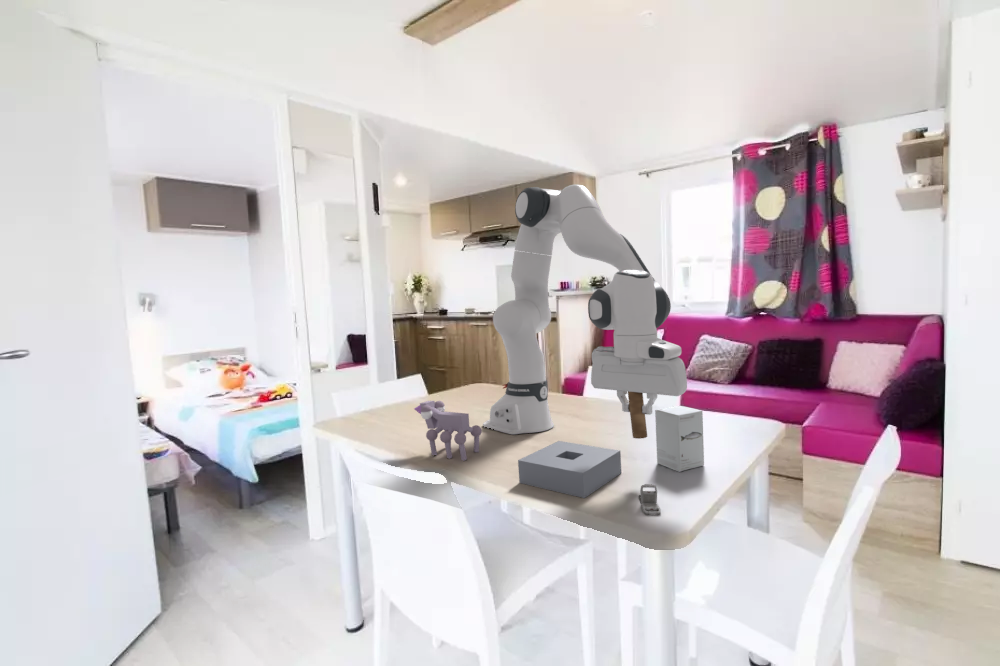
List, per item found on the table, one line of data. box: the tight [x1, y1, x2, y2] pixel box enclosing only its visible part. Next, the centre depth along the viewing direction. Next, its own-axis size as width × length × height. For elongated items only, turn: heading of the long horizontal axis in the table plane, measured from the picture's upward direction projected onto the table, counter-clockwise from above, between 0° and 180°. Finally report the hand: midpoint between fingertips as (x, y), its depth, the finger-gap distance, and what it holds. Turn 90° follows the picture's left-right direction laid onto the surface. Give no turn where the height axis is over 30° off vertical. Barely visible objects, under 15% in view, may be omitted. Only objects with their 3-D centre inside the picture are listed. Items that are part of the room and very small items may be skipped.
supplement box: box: [654, 405, 705, 473], centre depth 112 cm, size 7×7×13 cm
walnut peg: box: [627, 391, 648, 440], centre depth 106 cm, size 3×3×10 cm
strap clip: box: [638, 483, 662, 516], centre depth 93 cm, size 8×3×4 cm, turn 172°
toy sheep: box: [413, 400, 483, 462], centre depth 133 cm, size 20×11×14 cm, turn 57°
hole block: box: [517, 440, 622, 499], centre depth 109 cm, size 16×16×5 cm
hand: (637, 412), depth 106 cm, fingers closed on walnut peg, 3 cm apart
